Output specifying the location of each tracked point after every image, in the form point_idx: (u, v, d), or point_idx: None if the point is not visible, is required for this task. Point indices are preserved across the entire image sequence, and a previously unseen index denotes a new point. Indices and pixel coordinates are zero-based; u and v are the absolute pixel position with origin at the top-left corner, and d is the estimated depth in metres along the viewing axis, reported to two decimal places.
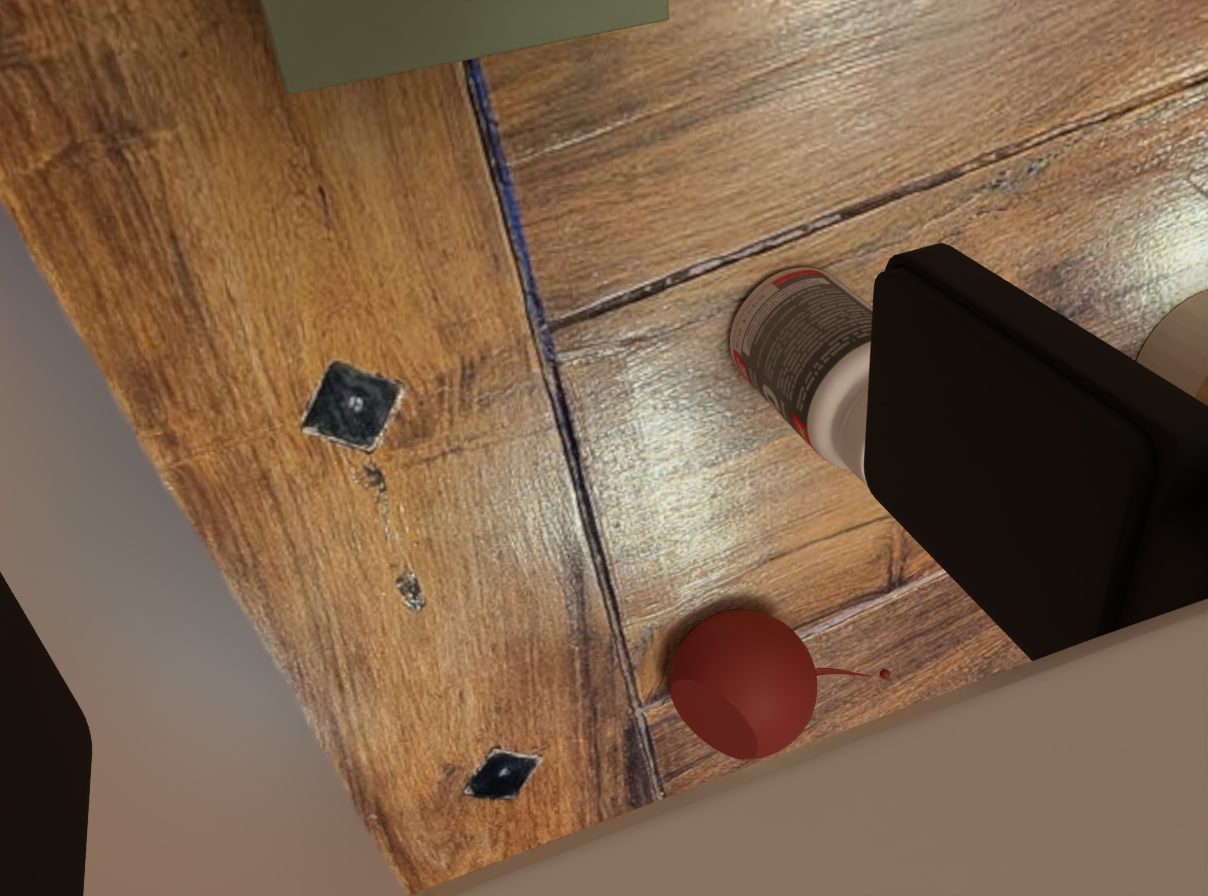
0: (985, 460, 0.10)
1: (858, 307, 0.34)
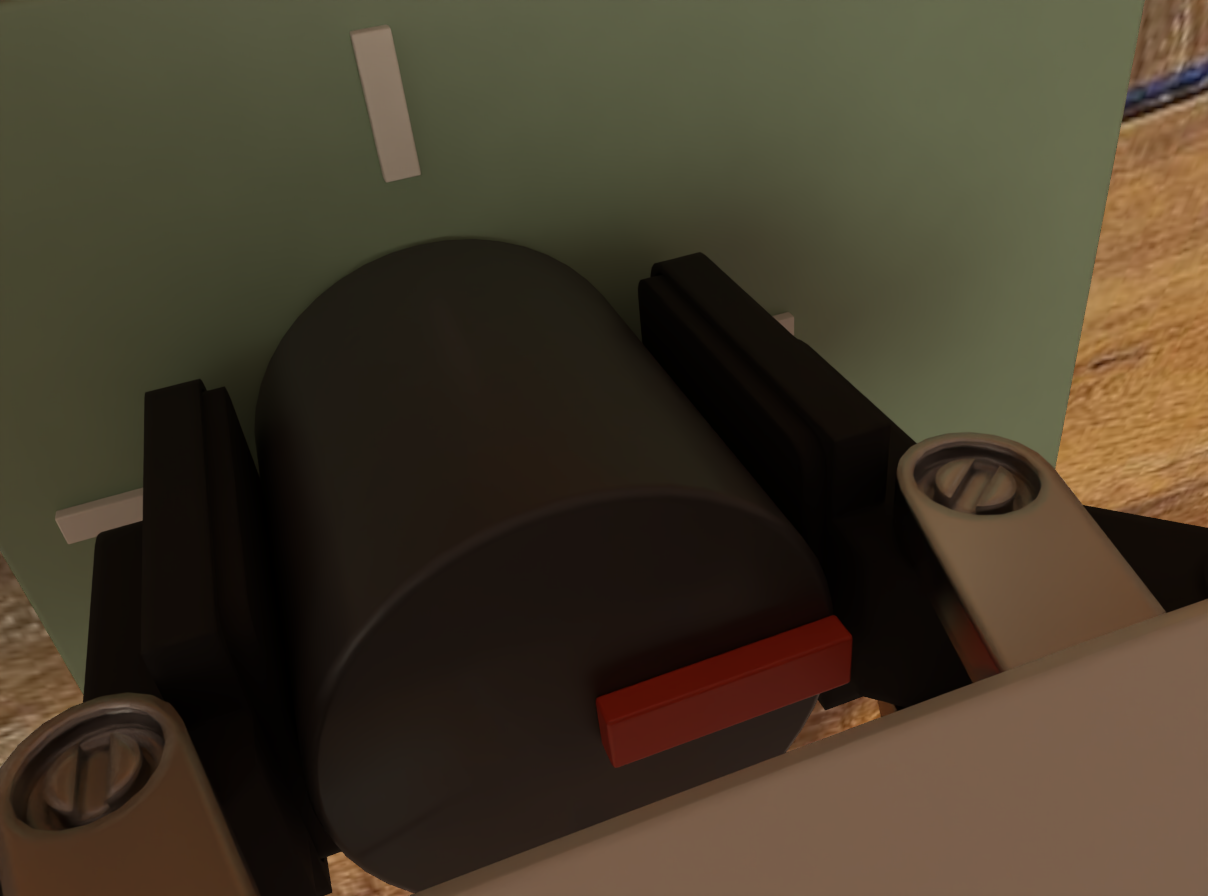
0: None
1: None
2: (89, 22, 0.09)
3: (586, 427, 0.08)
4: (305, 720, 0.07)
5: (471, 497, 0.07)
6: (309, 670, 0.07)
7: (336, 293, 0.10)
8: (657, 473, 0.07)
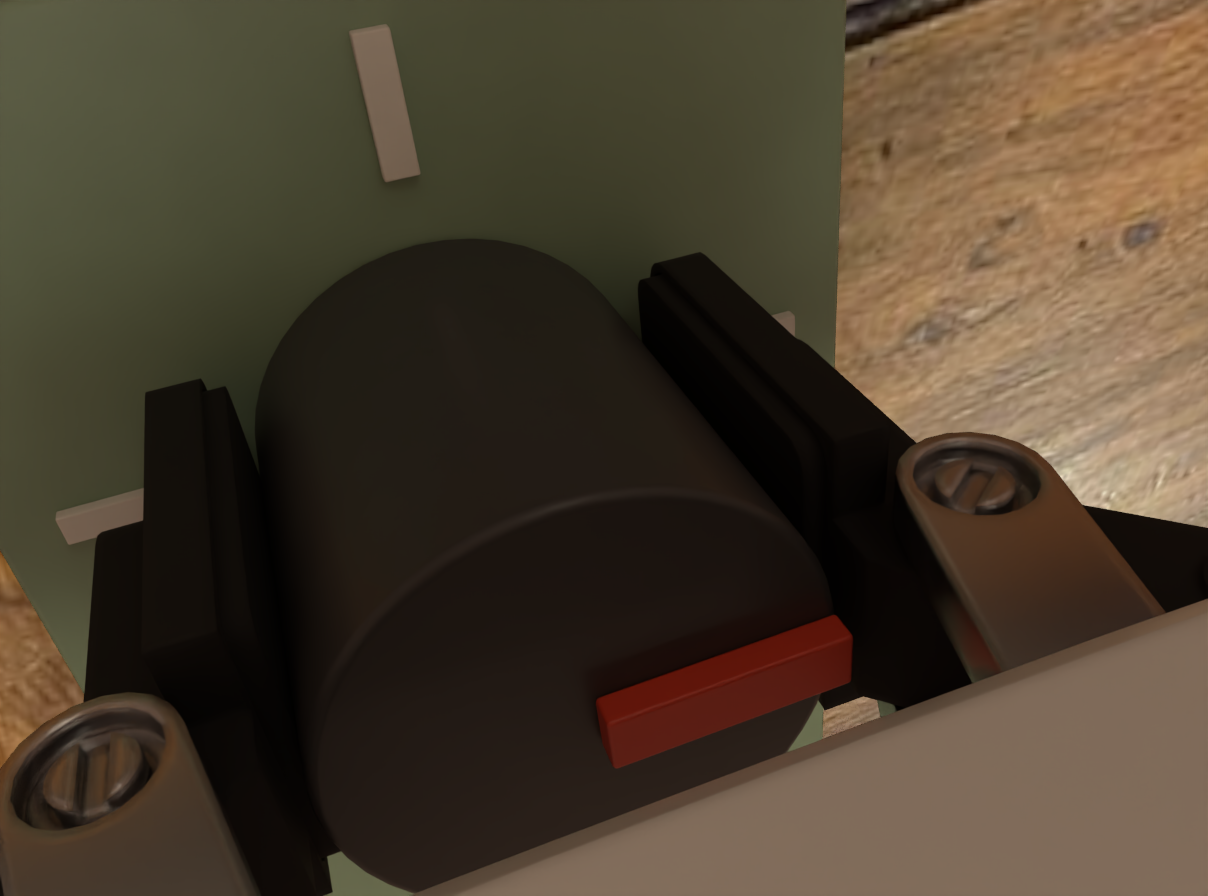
0: None
1: None
2: (824, 134, 0.12)
3: (585, 429, 0.08)
4: (305, 722, 0.07)
5: (470, 498, 0.07)
6: (309, 671, 0.07)
7: (335, 294, 0.10)
8: (656, 473, 0.07)
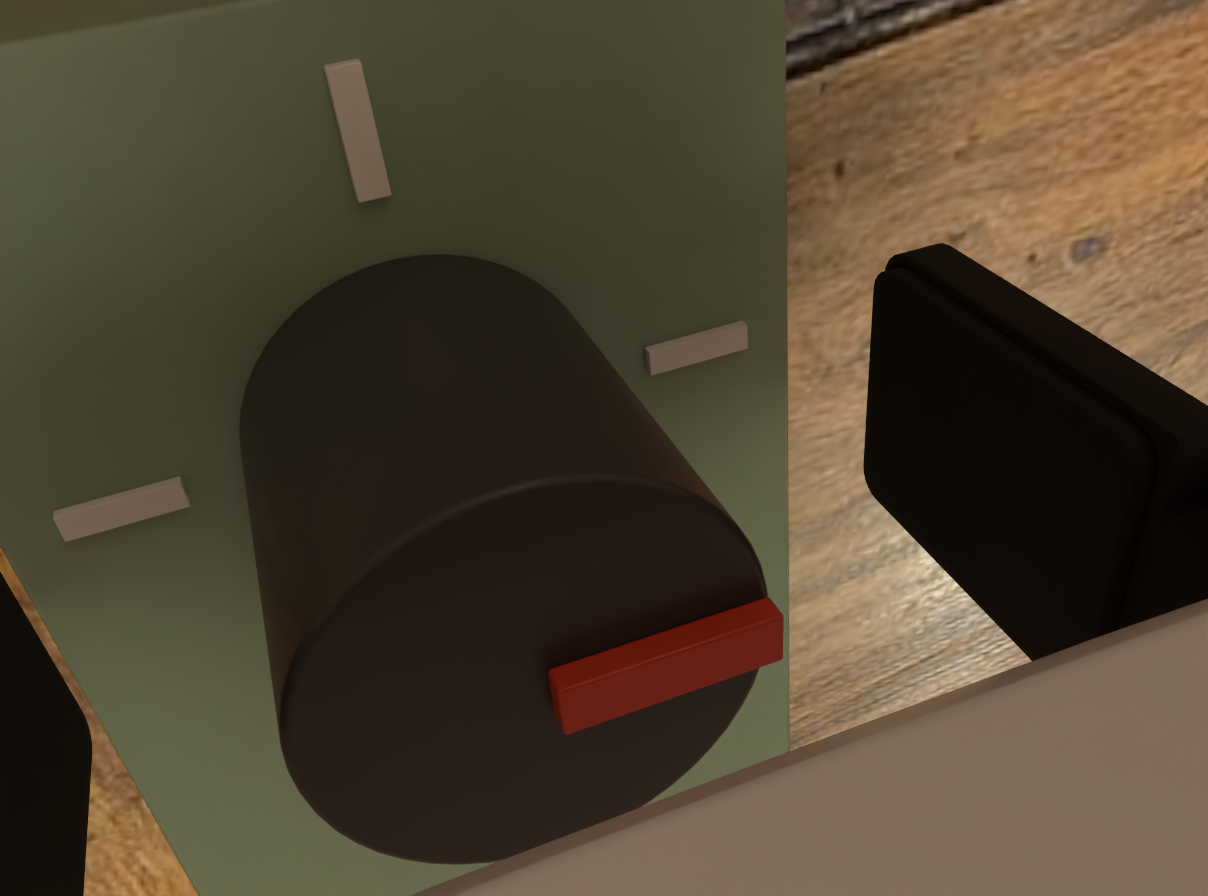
0: (985, 460, 0.10)
1: None
2: (770, 157, 0.13)
3: (540, 423, 0.09)
4: (281, 685, 0.08)
5: (435, 481, 0.08)
6: (286, 639, 0.08)
7: (317, 303, 0.11)
8: (601, 461, 0.08)
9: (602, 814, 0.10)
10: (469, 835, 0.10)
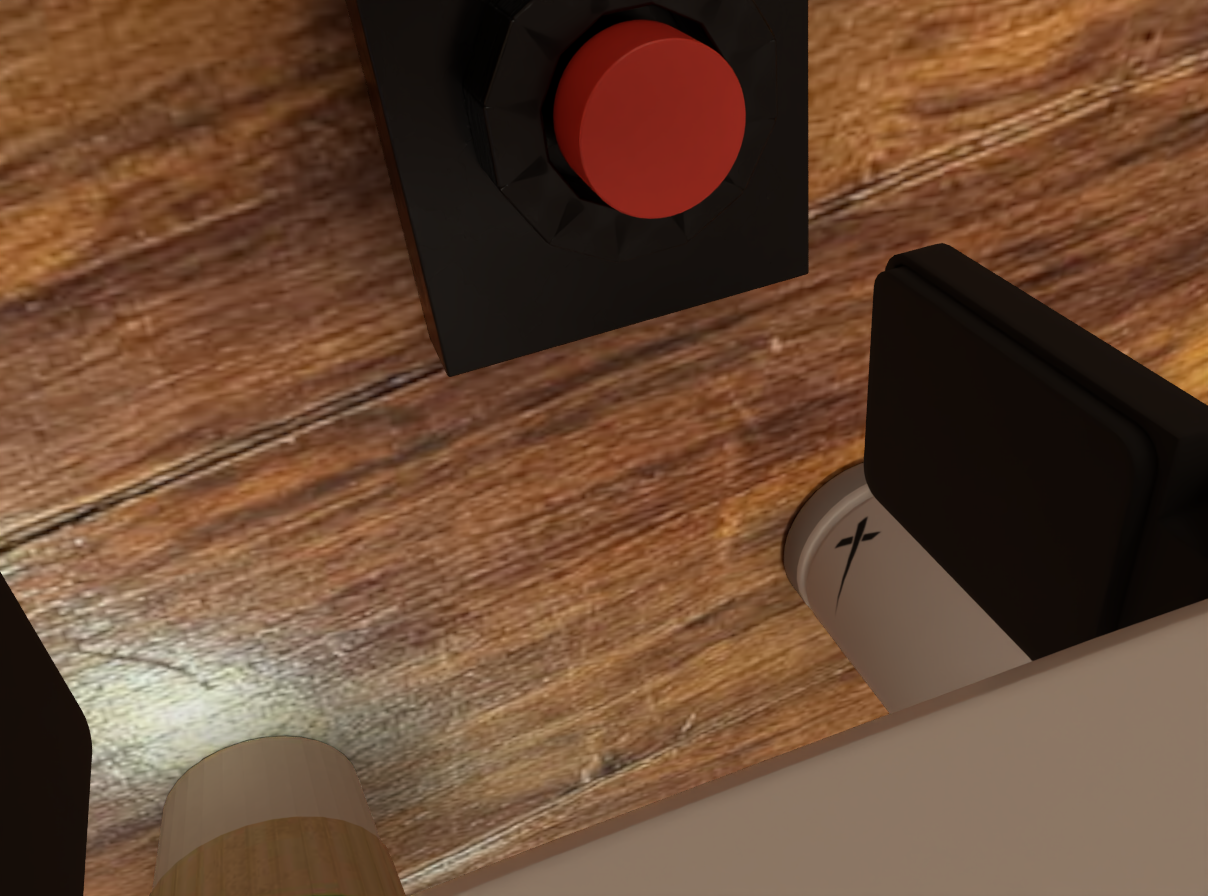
0: (985, 460, 0.10)
1: None
2: None
3: None
4: None
5: None
6: None
7: None
8: None
9: None
10: None
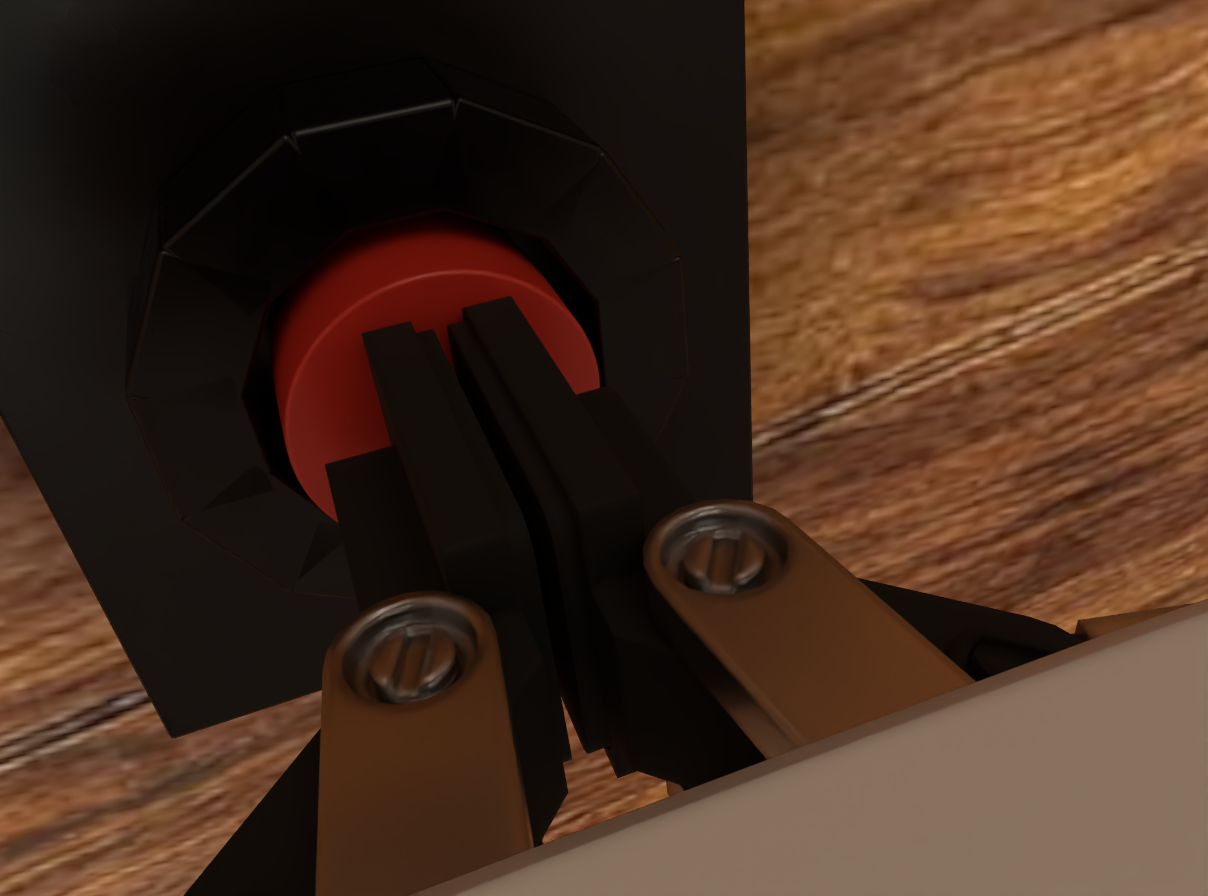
0: None
1: None
2: None
3: None
4: None
5: None
6: None
7: None
8: None
9: None
10: None
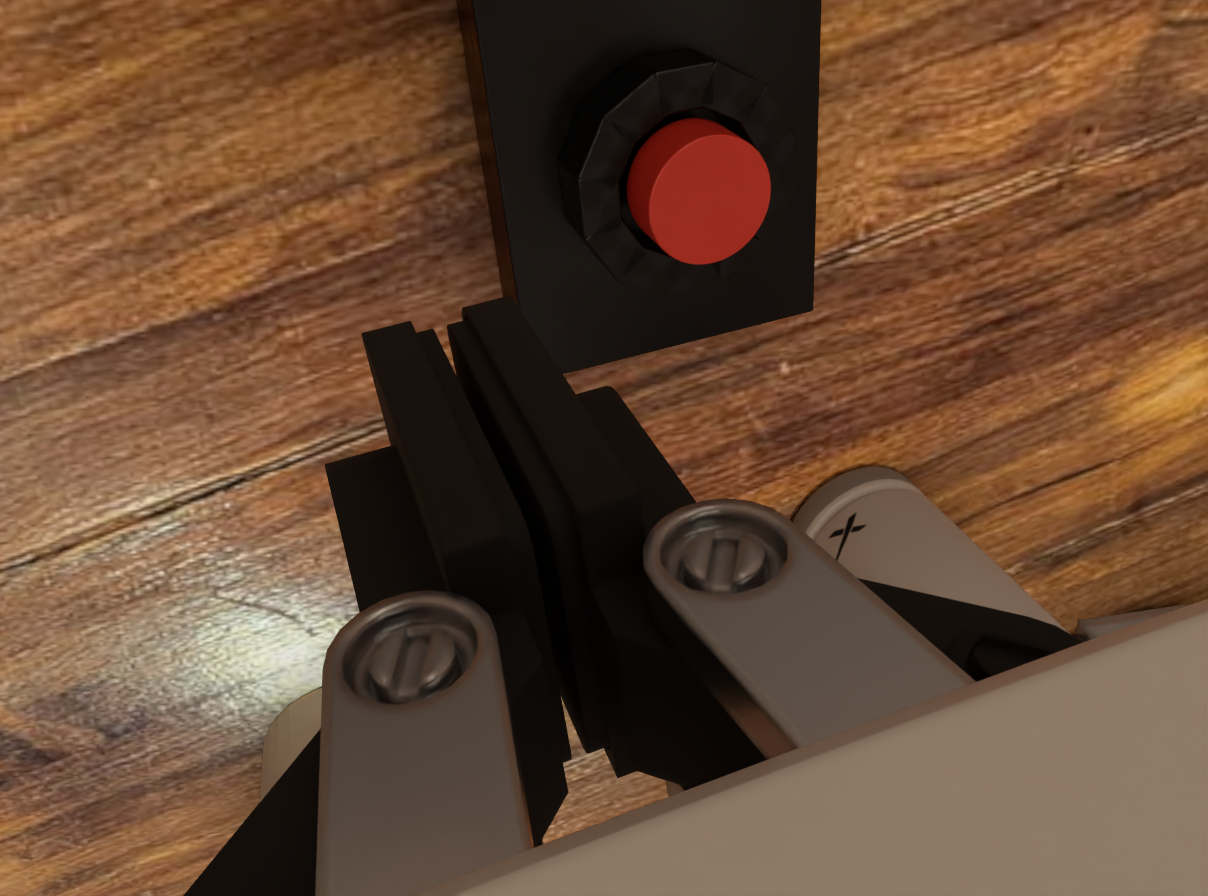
0: None
1: None
2: None
3: None
4: None
5: None
6: None
7: None
8: None
9: None
10: None
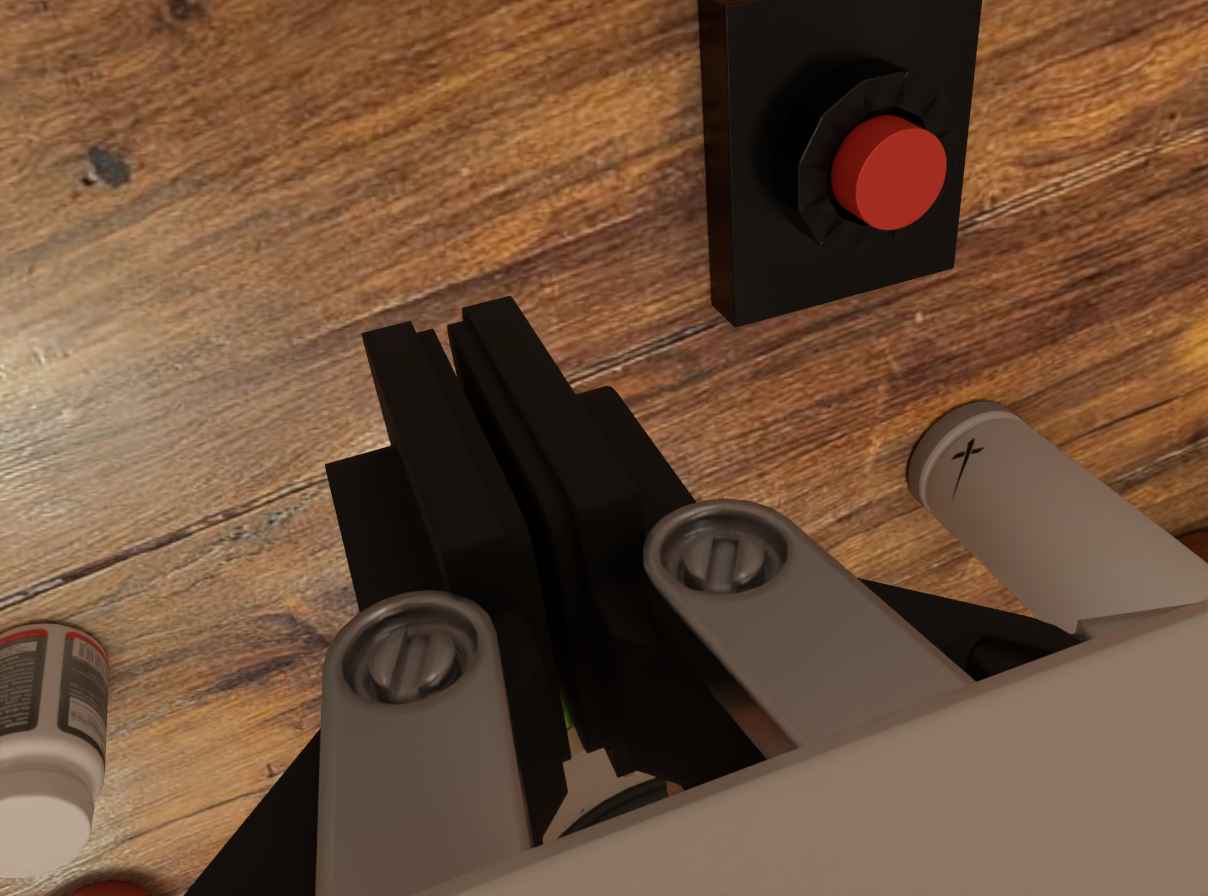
0: None
1: (28, 686, 0.37)
2: None
3: None
4: None
5: None
6: None
7: None
8: None
9: None
10: None
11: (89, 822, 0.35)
